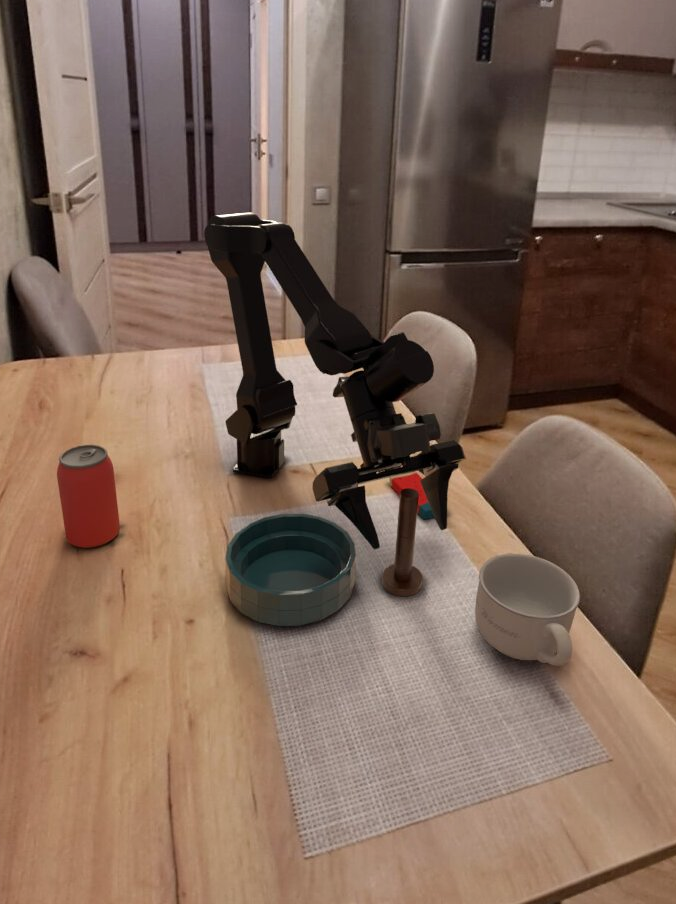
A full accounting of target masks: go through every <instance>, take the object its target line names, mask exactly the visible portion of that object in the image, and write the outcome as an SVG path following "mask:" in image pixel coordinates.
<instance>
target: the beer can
mask: <svg viewBox="0 0 676 904" xmlns="http://www.w3.org/2000/svg"><path fill="white" fill-rule="evenodd" d="M58 461H59V462H58V465H57V470H56V480H57V487H58V492H59V500H60V507H61V512H62V513H61V514H62V521H63V526H64V533H65V539H66V540H67V541H68V543H69V544H71V545H73V546H75V547H77V548H83V549H87V548H95V547H100V546H103V545H105V544H108V543H109V542H110V541H112V540H113V539H115V537H116V536H117V535H118V533H119V531H120V529H121V524H120V515H119V506H118V505H119V504H118V496H117V487H116V478H115V469H114V464H113V462H112V459H111V458H110V456H109V455H108V450H107V449H106V448H105V447H103V446H100V445H96V444H83V445H76V446H73V447H70V448H68V449H66V450H65V451H64V452H62V453H61V454H60V456H59V458H58Z"/></svg>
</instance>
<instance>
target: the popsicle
mask: <svg viewBox="0 0 676 904" xmlns="http://www.w3.org/2000/svg"><path fill="white" fill-rule="evenodd" d="M397 468H398V467H397ZM421 479H423V478H422V476H421V475H419V473H418V471H414V472H410V473H406V474H401V475H397V476H393V477H389V487H391V488H392V489H393V490H394V491H395V492H396V493H397V494H398V495H399V496H400V492H401V490H403V489H406V488H411V489H415V490H416V491H418V493H419V499H418V509H417V515H419V516H420V517H421V518H422V519H423V520H428V519H433V518H434V515H433V513H432V510H431V508H430V505H429V502H428V500H427V497H426V495H425V492H424V490H423V487H422V485H421V482H420V480H421Z"/></svg>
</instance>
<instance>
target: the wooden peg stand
mask: <svg viewBox="0 0 676 904" xmlns="http://www.w3.org/2000/svg"><path fill="white" fill-rule="evenodd" d="M418 499H419V493H418V491H416V490H415V489H411V488H406V489H403V490H401V492H400V495H399V500H398V501H399V502H398V513H397V526H396V540H395V552H394V563H392V564H390V565H388V566H386V567H385V568H384V569H383V571H382V573H381V585H382V587H383V589H384V590H385V591H386V592H388V593H389V594H391V595H393V596H397V597H410V596H413V595H415V594H417V593H418V592H419V591H420V590H421V588H422V586H423V574H422V572H421V571H420V570H419V569H418V568H417V567H416V566H414V565H413V563H414V562H413V561H414V552H415V541H416V531H417V520H418V513H417V509H418Z"/></svg>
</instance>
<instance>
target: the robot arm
mask: <svg viewBox="0 0 676 904" xmlns="http://www.w3.org/2000/svg"><path fill="white" fill-rule="evenodd" d="M203 237H204V242H205V244H206V246H207V249H208V252H209V256H210V259H211V262H212V264H213V265H214V266H215V267H216V268H217V270H218V271H219V272H220V273H221V274H222V276H223V277H224V278H225V281H226V287H227V291H228V297H229V303H230V307H231V313H232V319H233V324H234V330H235V331H234V332H235V335H236V342H237V347H238V353H239V357H240V363H241V369H242V377H241V380H240V382H239V385H238V388H237V391H236V393H235V398H236V410H235V411H234V412H233V413H232V414H231V415H230V416H229V417H228V418H227V419H226V420H225V426H226V431H227V434H228V435H229V436H231V437H232V438H234V439H236V463H235V464H234V466H233V467H232V472H233V473H236V474H237V473H238V474H243V475H249V476H256V477H261V478H266V479H271V478H273V477H274V475H275V474H276V473H277V471H278V470H279V469H280V468H281V467H282V466H283V463H284V462H285V460H286V456H285V439H284V438H282V431H283V430H287V429H289V428H290V426H291V424H292V422H293V421H292V420H293V419H294V417H295V416H296V407H297V405H298V403H297V400H296V396H295V389H294V384H293V383H294V382H293V381H292V380H291V379H287V380H286V378H285V377H284V376H283V375H282V374H281V373H280V372H279V371H278V369H277V364H276V359H275V352H274V347H273V340H272V333H271V328H270V322H269V317H268V311H267V305H266V304H267V303H266V297H265V294H264V288H263V281H262V271H263V268H264V265H265V263H266V265H267V267H268V269H269V270H270V271H271V273H272V275H273V277H274V278H275V280H276V281H277V283H278V285H279V286H280V287H281V289H282V291H283V293H284V295H286V297H287V299H288V300H289V302H290V304H291V306H292V307H293V308H294V310H295V312H296V313H297V315H298V316H299V318H300V320H301V322H302V324H303V326H304V344H305V346H306V349H307V350H308V353H309V355H310V358H311V359H312V361H313V364H314V365H315V367H316V368H317V370H318V371H319V372H320V373H322V374H323V375H325V374H326V375H328V376H337V375H339V374H344V375H346V374H348V373H351V372H353V373H352V374H350V375H349V376H339V377H338V381H337V383H336V385H335V386H334V388H333V390H332V397H333V398H343V399H344V403H345V407H346V409H347V410H346V411H347V412H348V416H349V419H350V422H351V426H352V430H353V432H352V433H351V434H350V437H351V440H352V443H357V446H358V450H359V452H360V457H361V459H362V463H361V464H360V465H359V468H358V466H357V465H356V464H355V463H354V462H353V461H350V462H345V463H341V464H335V465H331V466H327V467H325V468H324V469H323V470H322V471H321V472H319V473H318V474H317V475H316V476H315V477H314V479H313V481H312V493H313V496H314V499H315V502H317V503H318V502H323V501H327V500H328V501H327V502H326V504H327V506H328V507H333V506H335V507H336V508H337V509H338V510H339V511H340V512H341V513H342V515H344V516H345V517H346V518H347V519H348V520H349V521H350V523H352V524H353V526H355V528H356V529H357V530H358V532H359V533H360V534H361V535H362V537H363V538H364V539H365V541H367V543H368V544H369V545H370V547H371V548H372V550H378V549H380V547H381V545H380V540H379V536H378V532H377V530H376V527H375V524H374V521H373V518H372V515H371V512H370V510H369V507H368V504H367V499H366V485H362V484H367V483H371V482H376V481H380V480H384V479H388V478H390V477H393V476H397V475H401V474H406V473H410V472H414V471H415V472H419V473H420V474H422V475H423V476H424V477H423V478H422V479H421V480H420V482H421V485H422V487H423V490H424V492H425V495H426V497H427V500H428V502H429V505H430V508H431V510H432V513H433V515H434V517H433V518H434V520H435V522H436V524H437V526H438V528H439V530H440V531H445V530H447V529H448V494H449V493H448V492H449V483H450V481H451V477H452V475H453V473H454V472H455V471H457V470H458V469H459V464H460V463H461V462H463V461H465V460H466V458H467V457H466V455H465V452H464V449H463V446H462V445H461V444H460V443H458V442H457V441H456V440H455V439H452V440H447V441H442V442H437V443H434V444H430V443H431V442H433V441H437V440H440V439H441V436H442V433H441V427H440V423H439V421H438V418H437V415H436V414H435V412H428V413H421V414H416V416H415V418H414V419H415V421H414V422H412V423H407V422H406V419H405V416H404V415H403V413H402V412H400V413H397V411H396V408H395V405H394V403H397V402H399V401H402V400H403V399H404V398H406V397H407V396H409V395H410V394H412V393H413V392H415V391H416V390H418V389H419V388H421V387H423V386H424V385H425V384H427V383H429V381H431V379H432V378H433V377H434V373H435V367H434V366H435V365H434V360H433V358H432V356H431V354H430V353H429V352H428V350H426V349H425V348H424V347H423V346H421V345H420V344H419V343H417V342H416V341H414V340H410V339H408V338H407V335H406V334H405V332H403V331H401V332H397V333H395V334H392V335H390V336H389V337H387V338H386V339H385V341H383V340H381V339H379V338H378V337H376V336H375V335H373V334H371V332H370V331H369V330H368V329H367V327H366V326H365V325H364V323H362V322H361V320H360V319H359V318H358V317H357V316H356V315H355V314H354V313H352V312H351V311H349V310H348V309H346V308H344V307H343V306H341V305H339V304H338V303H337V301H336V300H335V299H334V298H333V296H332V295H331V293H330V292H329V290H328V288H327V287H326V285H325V283H324V282H323V280H322V279H321V278H320V276H319V275H318V273H317V271H316V270H315V268H314V267H313V265H312V264H311V261H309V259H308V257H307V256H306V254H305V253H304V251H303V250H302V247H301V246H300V245H299V243H298V242H297V240H296V236H295V232H294V230H293V228H292V226H291V225H290V224H287V223H285V222H277V221H275V220H269V219H261V218H260V217H259V216H258V214H256V213H254V212H241V213H239V212H238V213H230V214H220V215H218V214H217V215H213V216H211V218H210V219H209V220H208V223H207V225H206V226H205V228H204V231H203ZM361 369H362V370H361ZM416 453H418V454H416ZM414 454H416V455H414ZM411 455H412V456H411ZM397 467H398V468H397ZM359 485H361V486H359Z"/></svg>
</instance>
